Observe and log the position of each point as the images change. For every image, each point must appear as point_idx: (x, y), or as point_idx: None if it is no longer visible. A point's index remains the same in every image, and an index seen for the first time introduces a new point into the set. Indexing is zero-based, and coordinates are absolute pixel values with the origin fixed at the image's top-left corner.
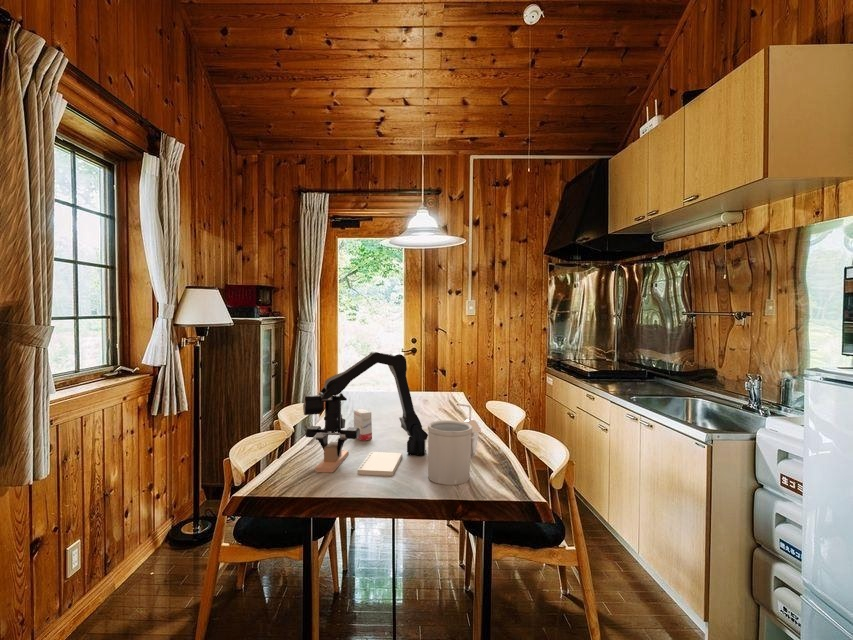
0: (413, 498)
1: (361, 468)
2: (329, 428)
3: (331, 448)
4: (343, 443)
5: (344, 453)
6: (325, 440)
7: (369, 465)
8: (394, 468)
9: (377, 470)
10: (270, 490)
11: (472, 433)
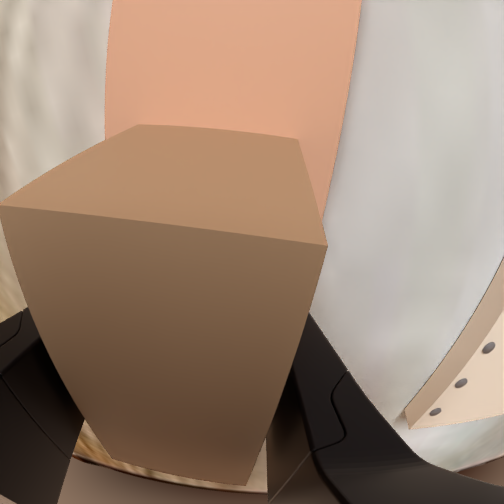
0: (476, 464)
1: (434, 416)
2: None
3: (202, 477)
4: (372, 430)
5: (332, 56)
6: (32, 459)
7: (490, 379)
8: None
9: (488, 416)
10: (103, 454)
11: None
